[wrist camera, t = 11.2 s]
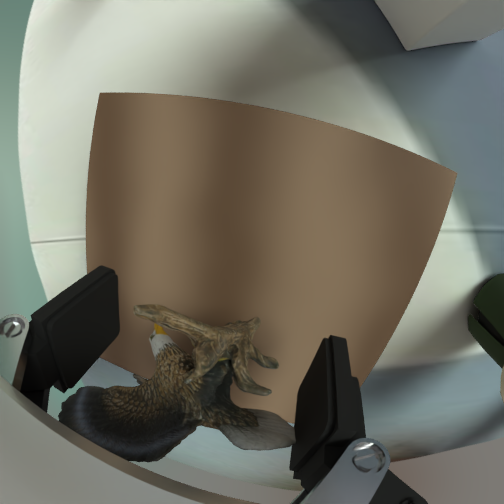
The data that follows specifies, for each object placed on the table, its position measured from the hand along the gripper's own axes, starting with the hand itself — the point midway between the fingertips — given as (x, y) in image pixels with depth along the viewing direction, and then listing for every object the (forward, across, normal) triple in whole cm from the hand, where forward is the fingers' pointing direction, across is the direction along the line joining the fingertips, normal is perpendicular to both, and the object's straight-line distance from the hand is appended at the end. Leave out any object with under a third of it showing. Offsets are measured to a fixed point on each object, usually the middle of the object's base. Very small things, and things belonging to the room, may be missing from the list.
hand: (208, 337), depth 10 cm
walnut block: (+9, 0, 0) cm, 9 cm away
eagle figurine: (+2, +1, +3) cm, 3 cm away
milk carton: (+9, -7, -20) cm, 23 cm away
